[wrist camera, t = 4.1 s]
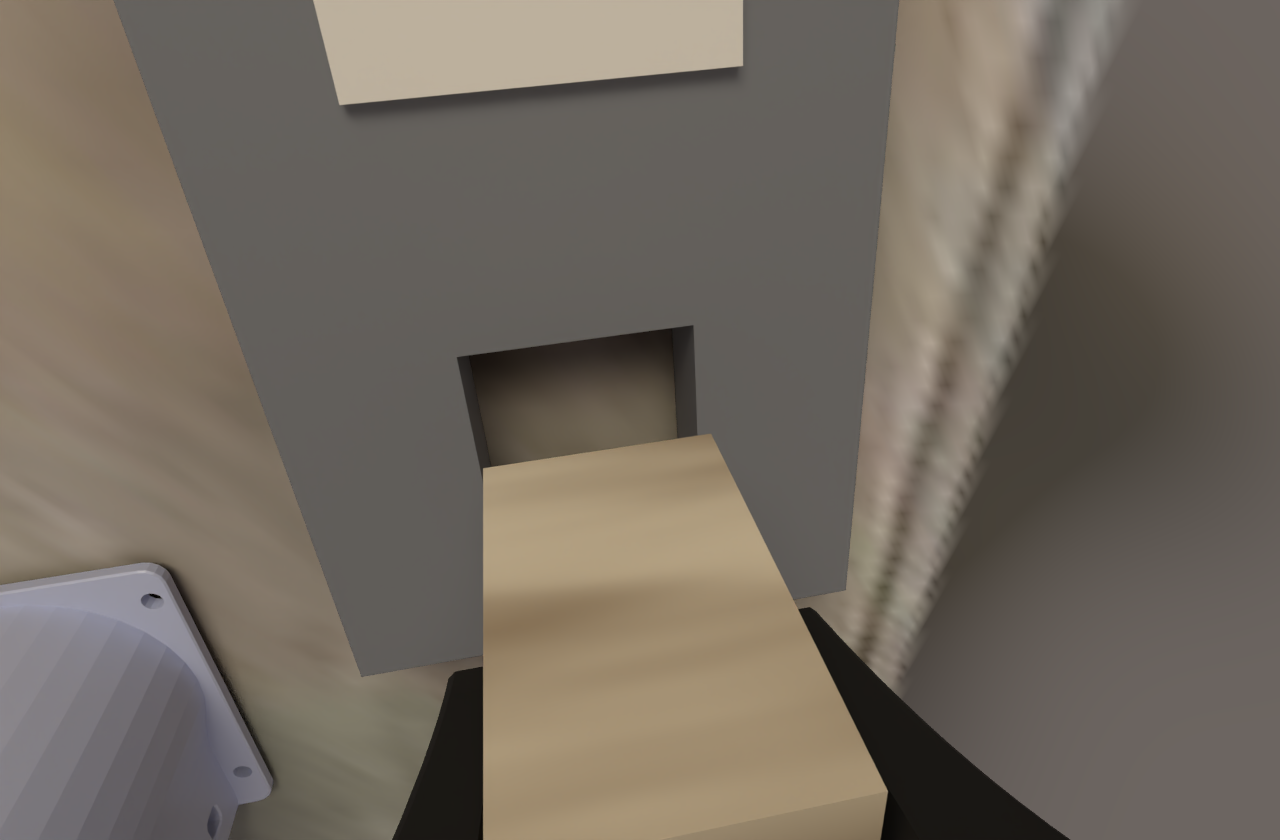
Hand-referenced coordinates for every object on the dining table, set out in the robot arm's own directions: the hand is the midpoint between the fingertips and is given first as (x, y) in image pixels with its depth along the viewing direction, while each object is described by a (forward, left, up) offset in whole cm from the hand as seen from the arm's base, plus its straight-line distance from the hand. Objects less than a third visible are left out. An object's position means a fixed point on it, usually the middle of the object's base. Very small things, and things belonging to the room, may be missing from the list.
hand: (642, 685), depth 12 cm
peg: (0, 0, -3) cm, 3 cm away
